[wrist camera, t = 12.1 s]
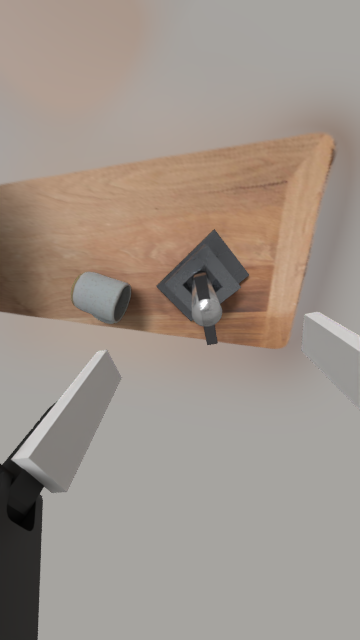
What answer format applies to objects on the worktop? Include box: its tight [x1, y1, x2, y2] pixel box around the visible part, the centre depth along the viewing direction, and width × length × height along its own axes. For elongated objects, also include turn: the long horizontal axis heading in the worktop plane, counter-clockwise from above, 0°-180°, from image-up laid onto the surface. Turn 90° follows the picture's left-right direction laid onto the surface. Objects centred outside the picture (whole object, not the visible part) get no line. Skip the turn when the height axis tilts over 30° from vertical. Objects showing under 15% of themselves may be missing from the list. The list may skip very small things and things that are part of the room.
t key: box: [192, 272, 222, 345], centre depth 25 cm, size 8×3×15 cm, turn 13°
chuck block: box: [156, 229, 249, 321], centre depth 30 cm, size 10×14×4 cm
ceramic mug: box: [71, 272, 131, 324], centre depth 32 cm, size 11×8×8 cm
